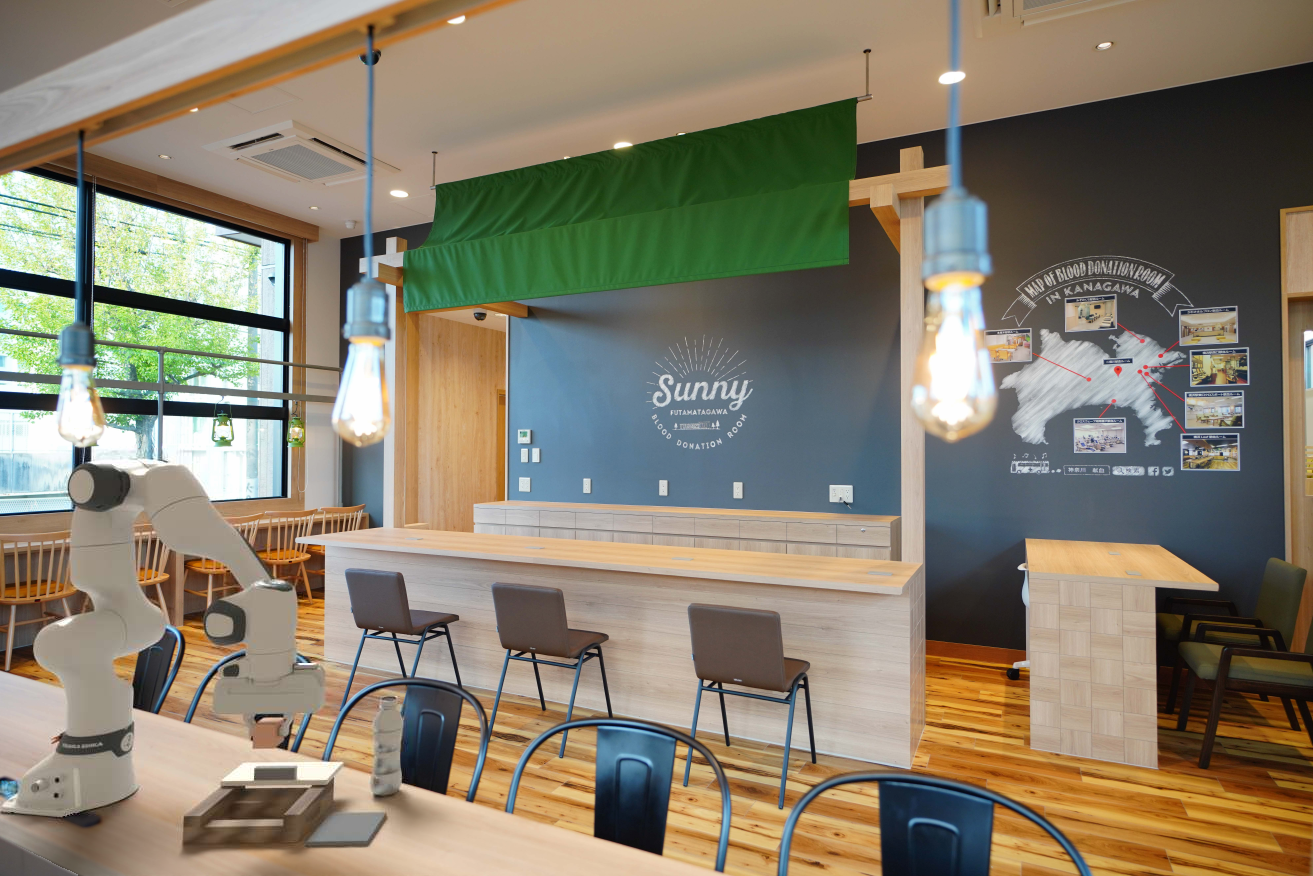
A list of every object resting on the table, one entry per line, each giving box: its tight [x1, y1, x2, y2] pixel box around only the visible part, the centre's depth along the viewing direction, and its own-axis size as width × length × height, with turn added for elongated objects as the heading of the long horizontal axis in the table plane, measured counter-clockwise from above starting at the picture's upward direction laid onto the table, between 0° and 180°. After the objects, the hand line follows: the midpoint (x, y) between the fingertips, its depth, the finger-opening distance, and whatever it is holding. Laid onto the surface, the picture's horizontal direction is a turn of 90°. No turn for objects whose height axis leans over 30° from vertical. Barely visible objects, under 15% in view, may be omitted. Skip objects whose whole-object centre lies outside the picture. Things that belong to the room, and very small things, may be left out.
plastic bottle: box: [369, 695, 404, 797], centre depth 152 cm, size 6×7×20 cm
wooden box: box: [182, 777, 335, 845], centre depth 139 cm, size 21×16×5 cm
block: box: [252, 717, 285, 750], centre depth 137 cm, size 4×4×4 cm
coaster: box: [306, 811, 388, 847], centre depth 136 cm, size 11×11×1 cm
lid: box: [219, 761, 345, 787], centre depth 147 cm, size 21×9×3 cm, turn 93°
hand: (268, 735), depth 137 cm, fingers closed on block, 4 cm apart
